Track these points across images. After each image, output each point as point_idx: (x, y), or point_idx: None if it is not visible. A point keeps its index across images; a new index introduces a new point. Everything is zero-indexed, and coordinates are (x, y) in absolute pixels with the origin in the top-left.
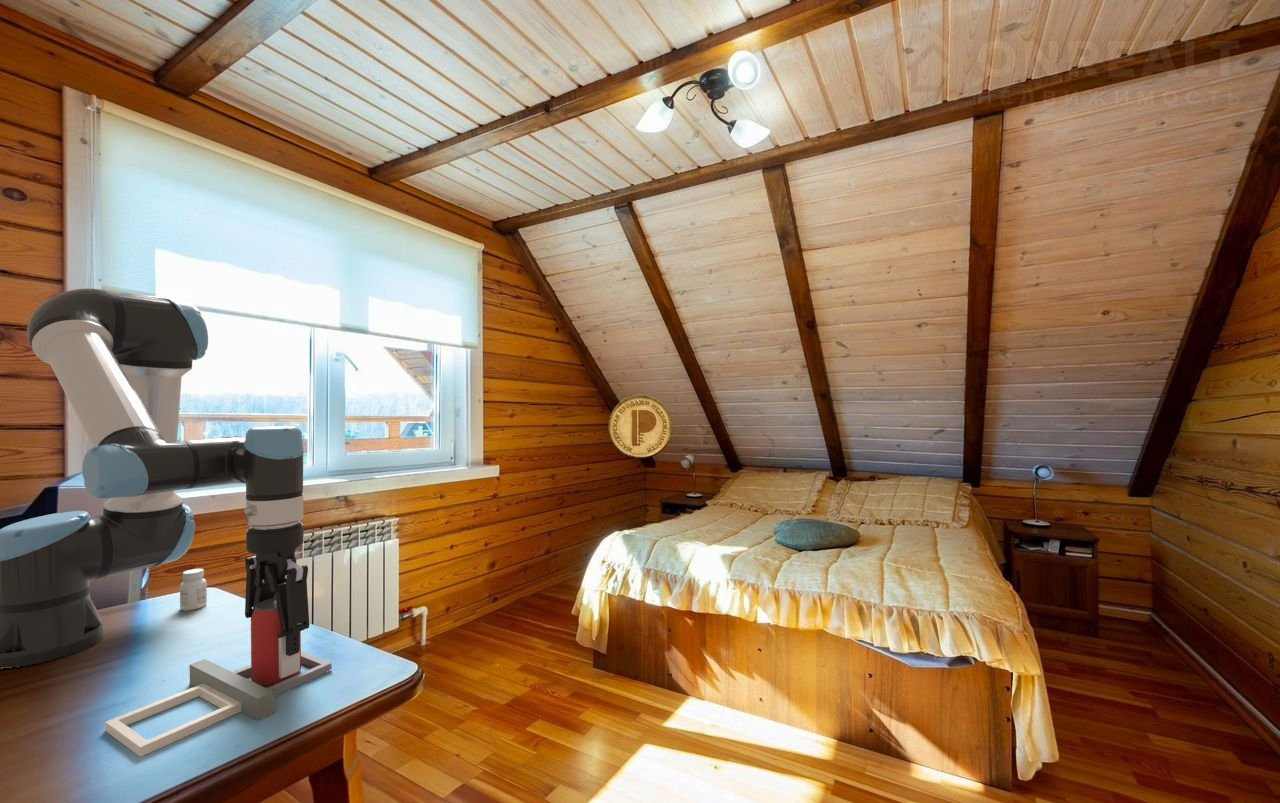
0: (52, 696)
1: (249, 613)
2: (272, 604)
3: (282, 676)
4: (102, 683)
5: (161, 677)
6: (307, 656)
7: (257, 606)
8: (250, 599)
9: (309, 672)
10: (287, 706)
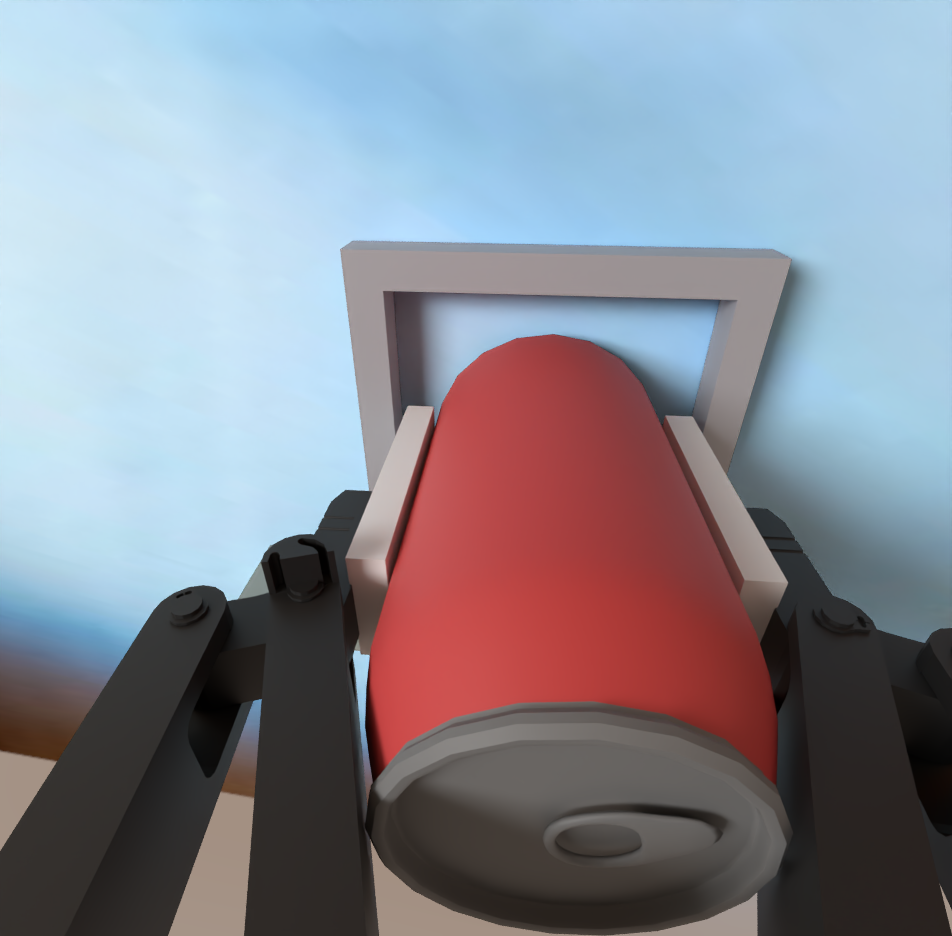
0: (65, 725)
1: (249, 709)
2: (525, 832)
3: None
4: (56, 666)
5: (138, 595)
6: (549, 279)
7: (456, 884)
8: (193, 843)
9: (747, 391)
10: (826, 533)
